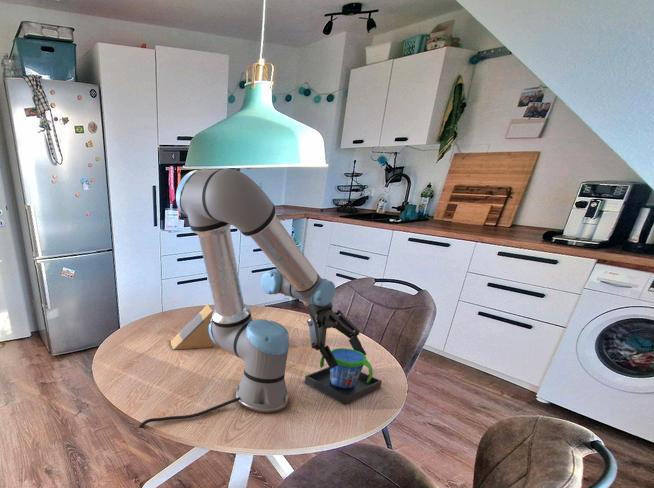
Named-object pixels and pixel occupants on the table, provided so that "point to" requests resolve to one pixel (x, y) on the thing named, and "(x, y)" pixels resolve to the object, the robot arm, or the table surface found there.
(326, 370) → the tray
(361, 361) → the snack cup
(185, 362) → the table surface
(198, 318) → the sandwich container
